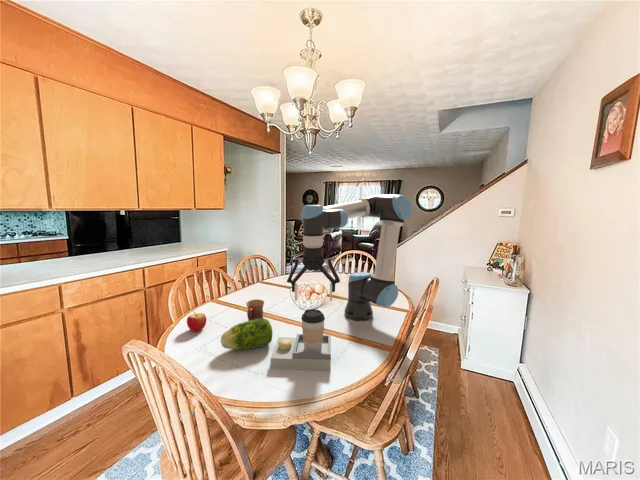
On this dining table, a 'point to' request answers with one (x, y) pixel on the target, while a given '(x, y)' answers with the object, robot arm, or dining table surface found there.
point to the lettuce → (248, 335)
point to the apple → (196, 321)
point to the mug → (255, 309)
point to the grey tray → (300, 354)
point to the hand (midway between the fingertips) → (313, 299)
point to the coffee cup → (313, 330)
